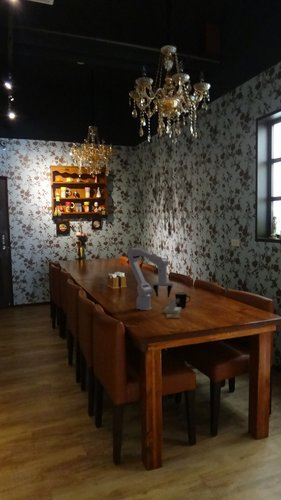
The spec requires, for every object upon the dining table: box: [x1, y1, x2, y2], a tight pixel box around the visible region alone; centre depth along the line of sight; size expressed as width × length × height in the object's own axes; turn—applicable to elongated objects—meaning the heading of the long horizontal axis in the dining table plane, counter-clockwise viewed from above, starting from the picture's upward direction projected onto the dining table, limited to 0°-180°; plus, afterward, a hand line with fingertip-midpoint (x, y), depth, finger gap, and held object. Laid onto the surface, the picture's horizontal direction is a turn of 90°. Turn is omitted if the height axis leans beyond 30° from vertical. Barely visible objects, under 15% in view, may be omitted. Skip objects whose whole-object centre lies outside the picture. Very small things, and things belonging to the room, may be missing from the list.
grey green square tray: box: [163, 306, 182, 315], centre depth 224 cm, size 10×10×2 cm
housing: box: [168, 299, 177, 310], centre depth 224 cm, size 7×4×5 cm, turn 162°
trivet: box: [165, 313, 181, 320], centre depth 211 cm, size 8×8×1 cm
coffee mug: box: [174, 291, 192, 309], centre depth 235 cm, size 12×9×10 cm
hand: (162, 296), depth 223 cm, fingers open, 7 cm apart
